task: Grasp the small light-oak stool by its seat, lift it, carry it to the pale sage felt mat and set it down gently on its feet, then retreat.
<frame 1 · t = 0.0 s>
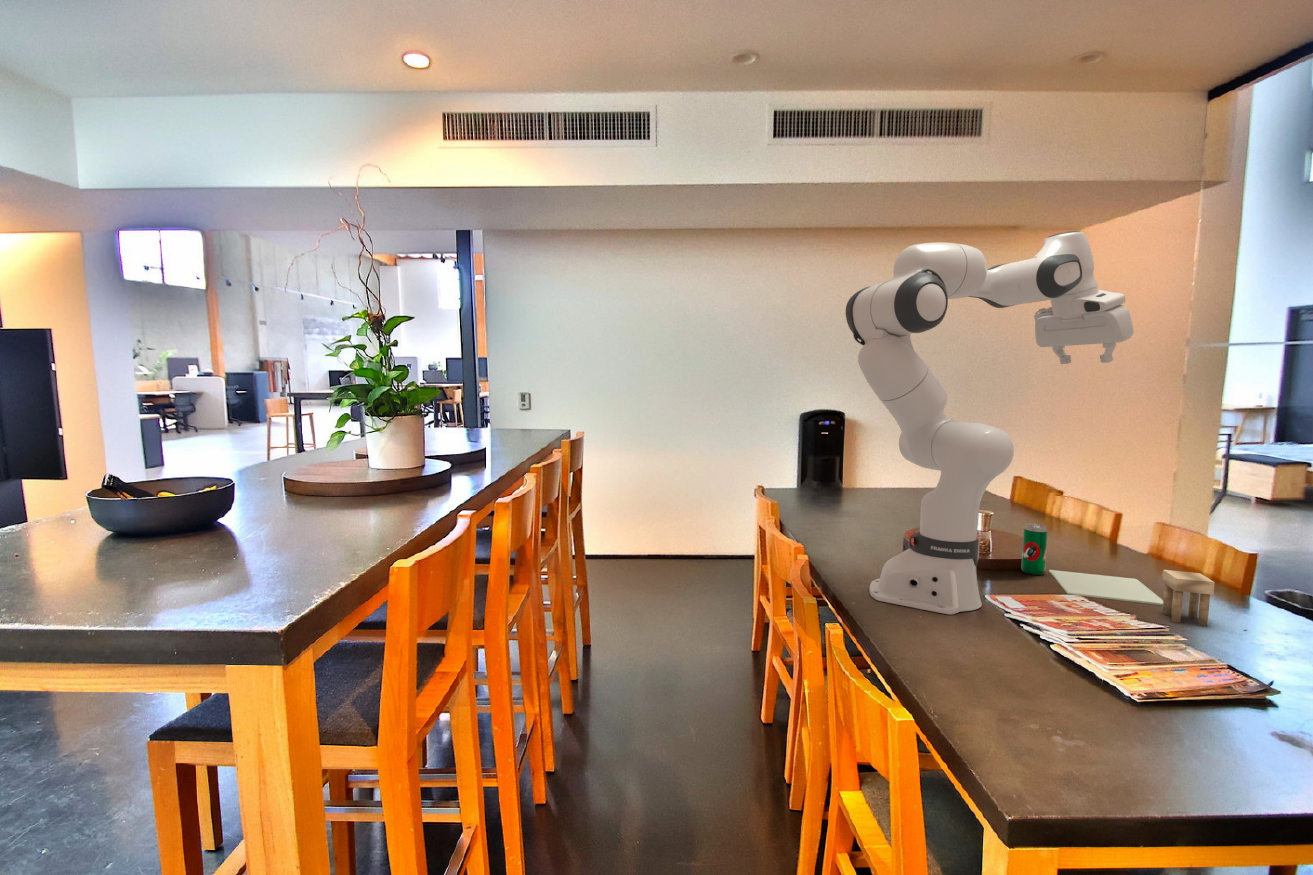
hand: (1085, 362, 136), 52 cm above the table, tool tilted 20°, fingers open, 8 cm apart
soda can: (1032, 573, 149), on the table
mat: (1103, 587, 138), on the table
stool: (1184, 619, 119), on the table
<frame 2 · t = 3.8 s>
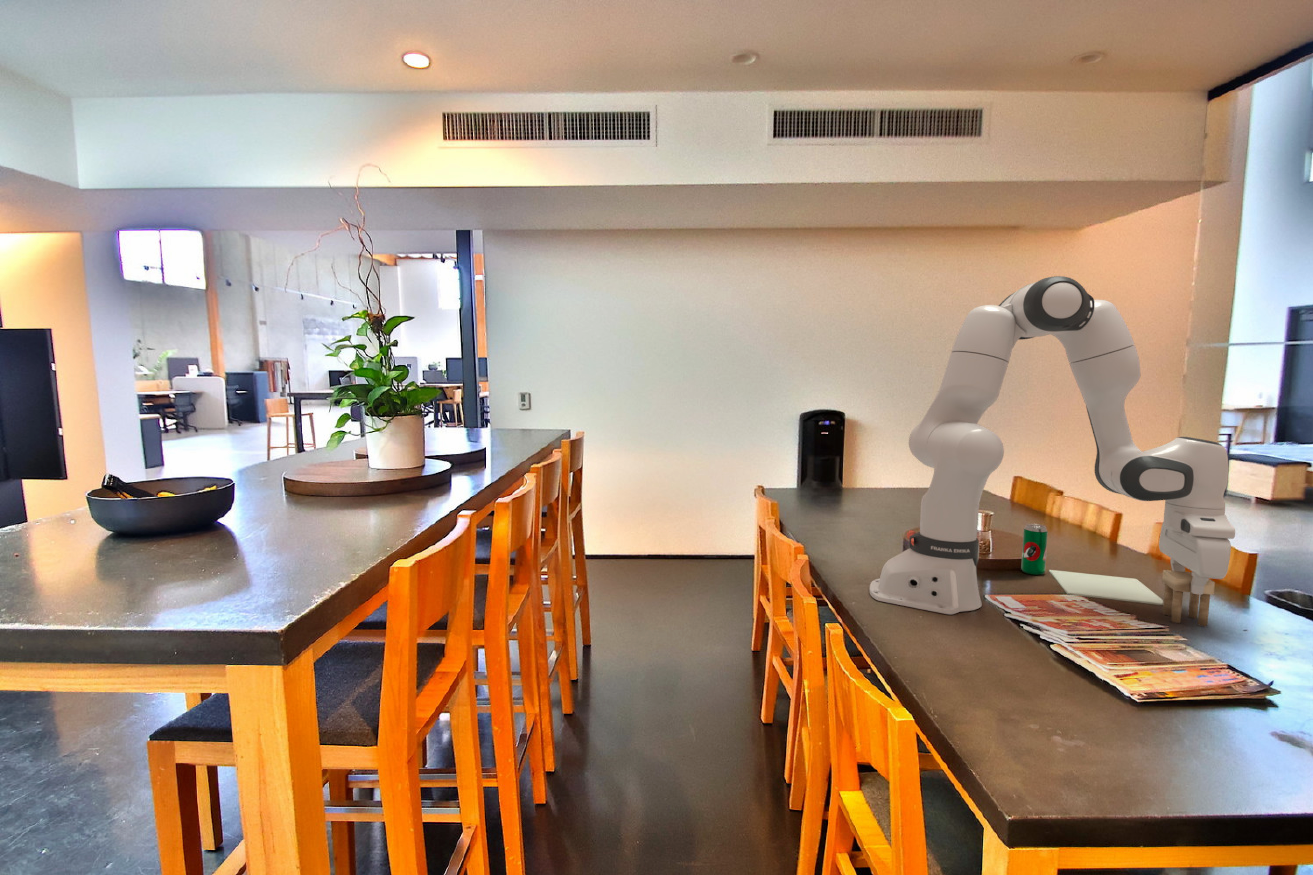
hand: (1187, 587, 119), 7 cm above the table, tool pointing down, fingers closed on stool, 6 cm apart
stool: (1184, 619, 119), on the table, touching gripper
everything else where it was.
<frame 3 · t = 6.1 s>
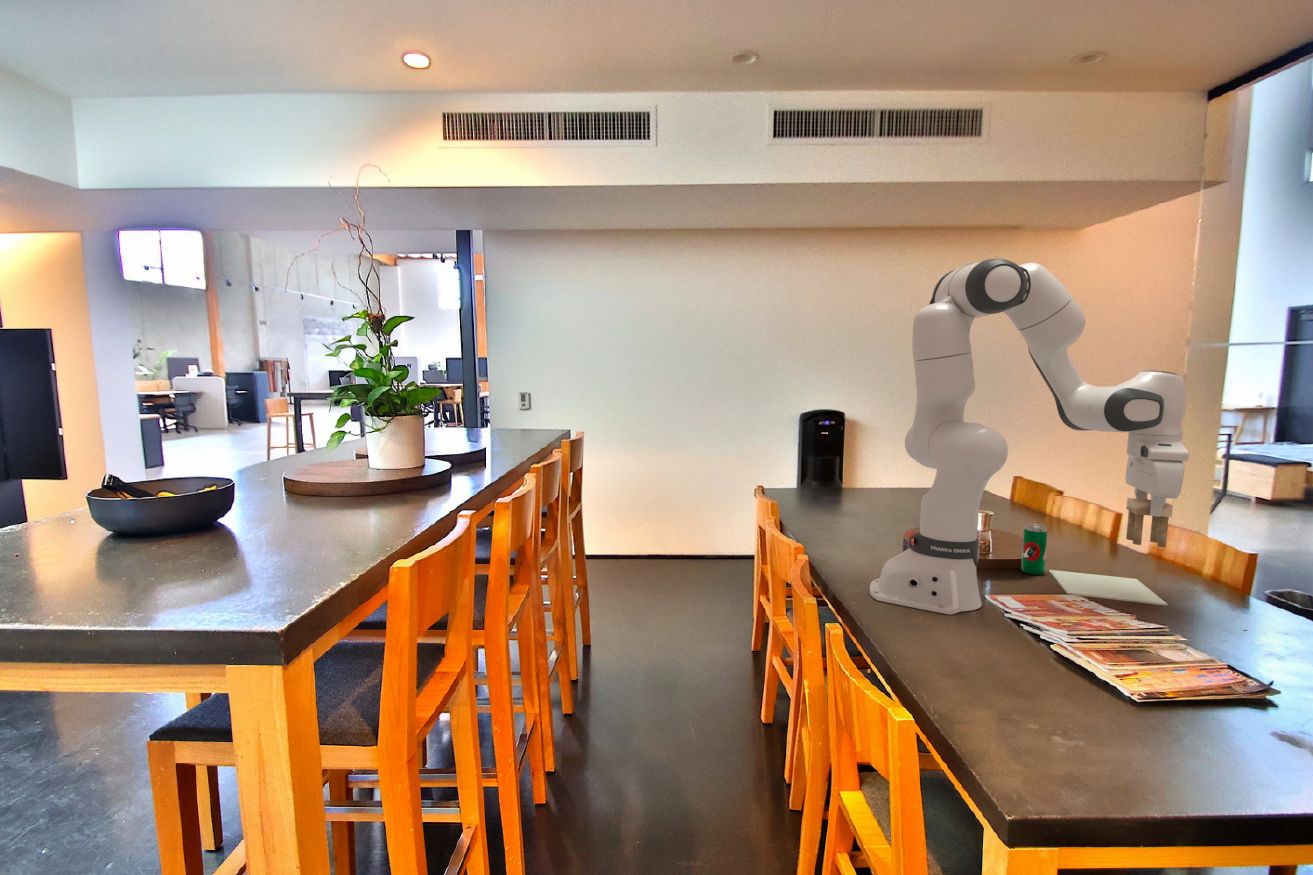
hand: (1147, 512, 127), 20 cm above the table, tool pointing down, fingers closed on stool, 6 cm apart
stool: (1145, 542, 127), point 13 cm above the table, touching gripper
everything else where it was.
when the fingers open (8 cm above the table, at t = 8.5 s): stool stays where it is, resting on mat.
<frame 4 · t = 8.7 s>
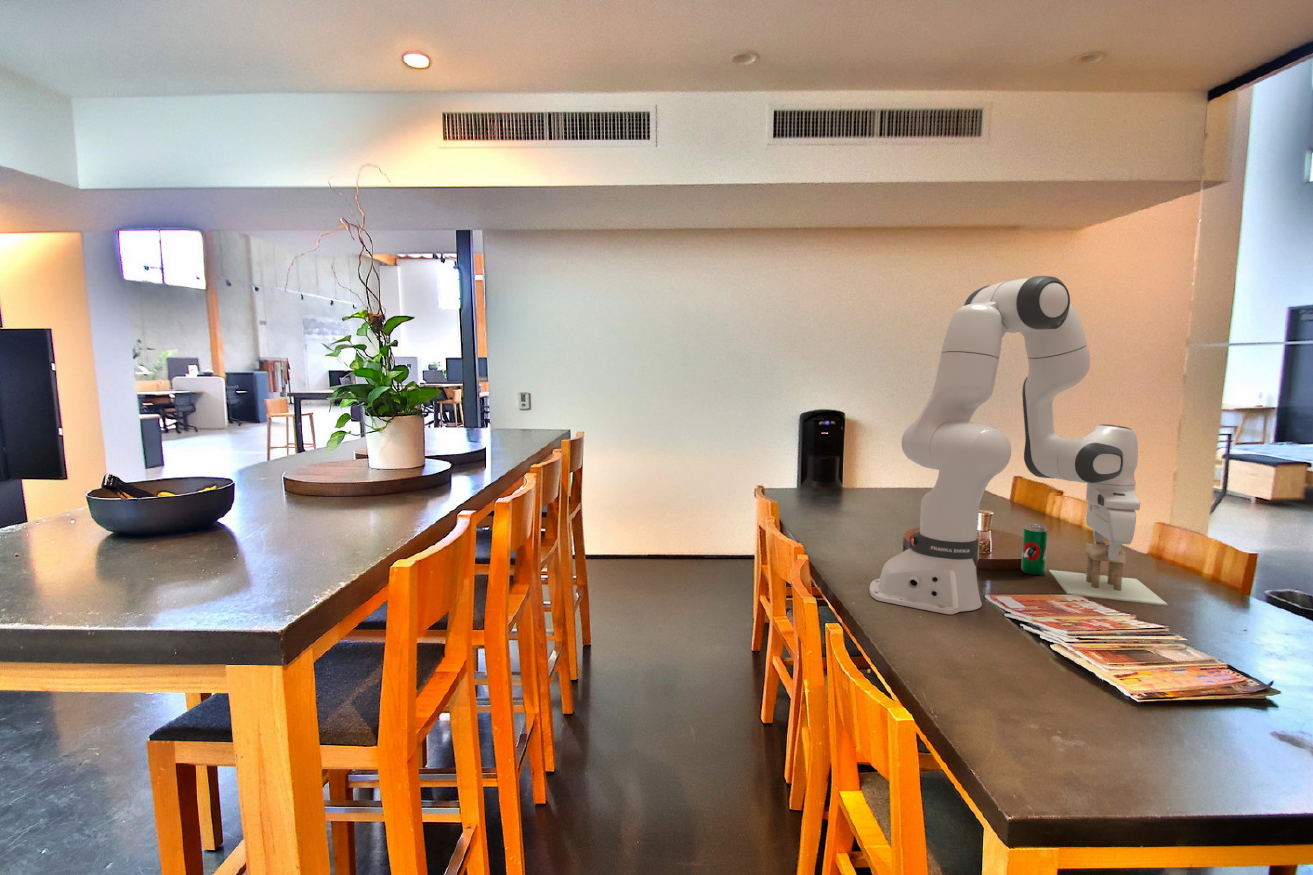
hand: (1105, 554, 138), 8 cm above the table, tool pointing down, fingers open, 8 cm apart
stool: (1103, 585, 138), resting on mat
everything else where it was.
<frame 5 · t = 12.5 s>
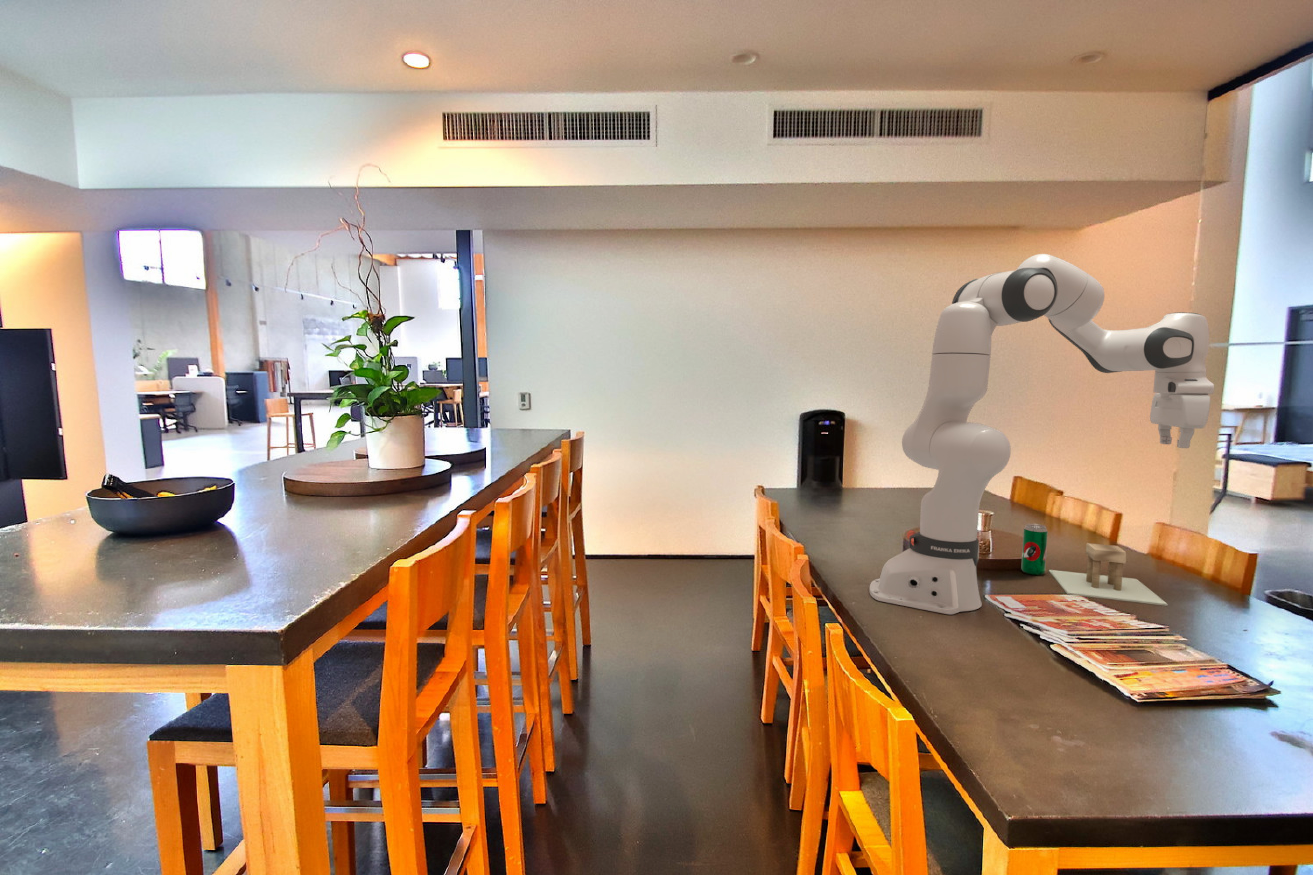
hand: (1174, 446, 136), 33 cm above the table, tool pointing down, fingers open, 8 cm apart
nothing on the table moved.
at the end: stool inside the target area on the mat (0.1 cm from its centre), point 0.4 cm above the mat's base; stool tilted 0°; the gripper is holding nothing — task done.
